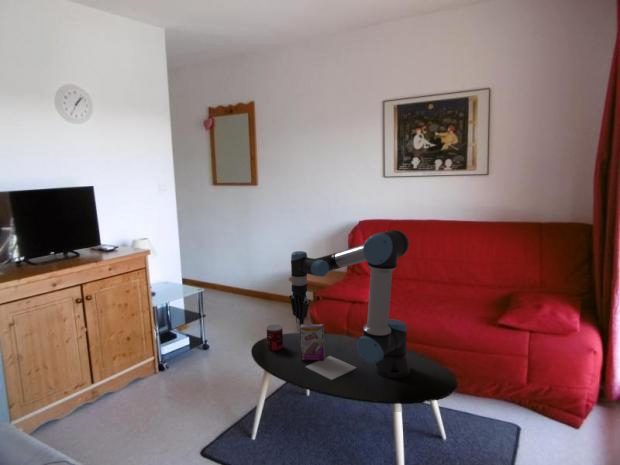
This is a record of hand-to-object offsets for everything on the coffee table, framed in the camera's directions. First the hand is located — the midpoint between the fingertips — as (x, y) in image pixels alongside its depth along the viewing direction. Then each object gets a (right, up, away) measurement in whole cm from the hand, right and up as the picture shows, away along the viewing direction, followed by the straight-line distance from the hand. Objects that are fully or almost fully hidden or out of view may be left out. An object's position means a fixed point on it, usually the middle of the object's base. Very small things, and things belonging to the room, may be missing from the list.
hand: (300, 330), depth 213 cm
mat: (+14, -14, -14) cm, 24 cm away
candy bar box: (+6, -13, -5) cm, 15 cm away
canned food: (-13, -11, +9) cm, 19 cm away
